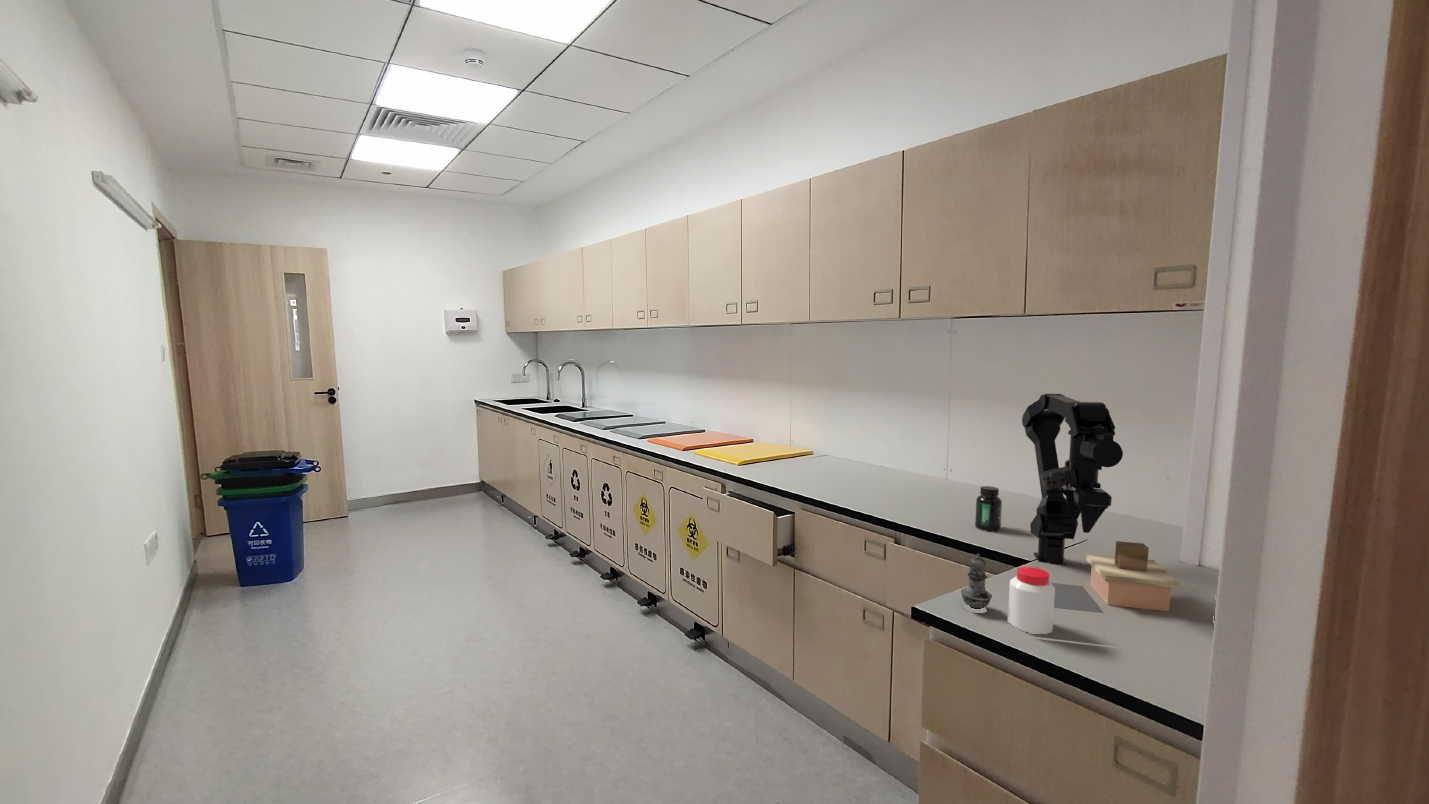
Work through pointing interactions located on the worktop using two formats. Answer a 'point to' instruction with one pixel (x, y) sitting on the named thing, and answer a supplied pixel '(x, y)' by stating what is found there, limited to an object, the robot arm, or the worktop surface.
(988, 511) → the supplement bottle
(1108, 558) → the lid
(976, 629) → the worktop surface
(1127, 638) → the worktop surface
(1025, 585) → the pill bottle
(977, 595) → the grey figurine
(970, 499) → the worktop surface
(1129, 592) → the pink open tray
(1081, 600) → the mat
